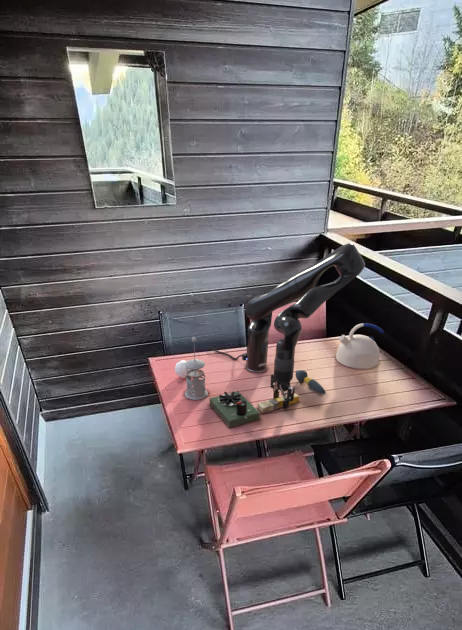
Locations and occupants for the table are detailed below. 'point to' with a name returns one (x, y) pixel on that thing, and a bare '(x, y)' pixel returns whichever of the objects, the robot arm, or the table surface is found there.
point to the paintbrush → (309, 381)
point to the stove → (234, 412)
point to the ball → (181, 369)
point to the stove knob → (241, 407)
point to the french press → (195, 378)
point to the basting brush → (275, 403)
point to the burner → (229, 399)
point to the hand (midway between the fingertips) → (280, 403)
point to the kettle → (358, 349)
